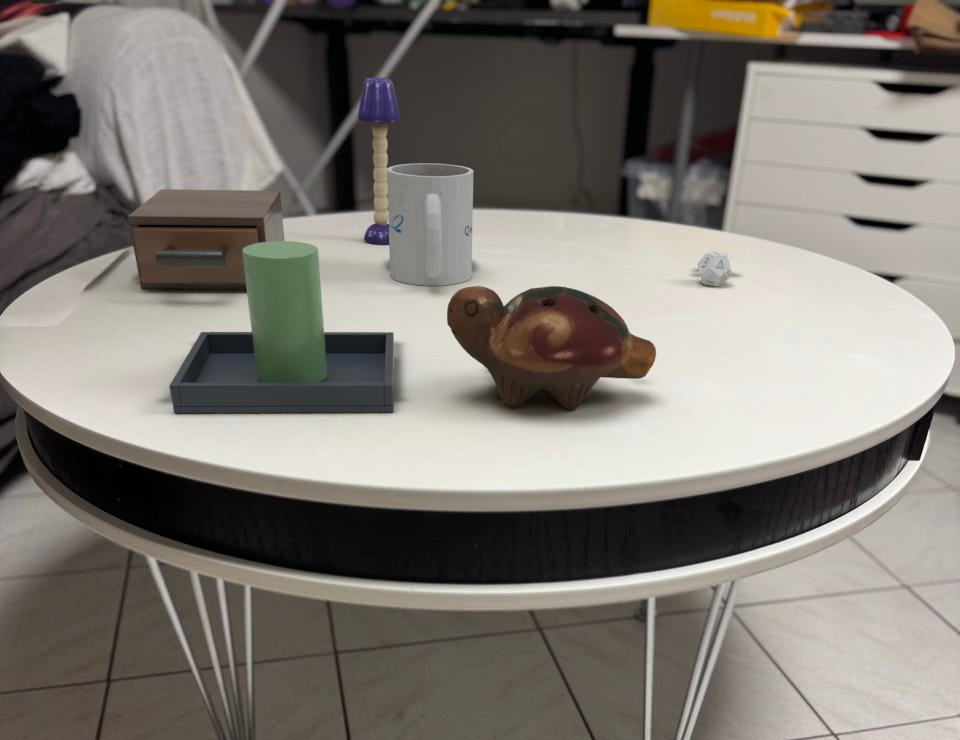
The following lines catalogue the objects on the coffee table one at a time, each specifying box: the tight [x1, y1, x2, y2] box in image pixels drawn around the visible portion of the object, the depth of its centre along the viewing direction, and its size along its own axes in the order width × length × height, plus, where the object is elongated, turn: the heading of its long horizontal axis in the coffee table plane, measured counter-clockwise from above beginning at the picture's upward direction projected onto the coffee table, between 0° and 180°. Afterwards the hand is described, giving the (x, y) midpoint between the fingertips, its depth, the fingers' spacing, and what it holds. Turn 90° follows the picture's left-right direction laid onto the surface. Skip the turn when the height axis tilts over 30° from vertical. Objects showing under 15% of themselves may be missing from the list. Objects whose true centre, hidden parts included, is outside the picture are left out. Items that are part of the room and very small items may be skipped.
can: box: [242, 240, 327, 383], centre depth 66 cm, size 5×5×9 cm
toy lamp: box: [357, 77, 401, 245], centre depth 104 cm, size 5×5×17 cm
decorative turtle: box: [446, 285, 657, 411], centre depth 65 cm, size 10×15×8 cm, turn 98°
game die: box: [696, 250, 733, 287], centre depth 95 cm, size 4×4×3 cm
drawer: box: [133, 225, 259, 283], centre depth 90 cm, size 18×11×5 cm, turn 4°
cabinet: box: [127, 188, 286, 290], centre depth 93 cm, size 15×13×7 cm
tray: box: [169, 331, 395, 414], centre depth 68 cm, size 15×12×2 cm
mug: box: [387, 162, 474, 287], centre depth 92 cm, size 12×9×10 cm
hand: (46, 3), depth 69 cm, fingers closed
